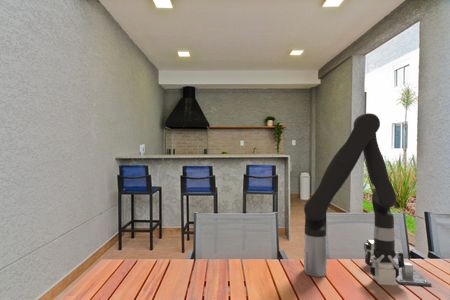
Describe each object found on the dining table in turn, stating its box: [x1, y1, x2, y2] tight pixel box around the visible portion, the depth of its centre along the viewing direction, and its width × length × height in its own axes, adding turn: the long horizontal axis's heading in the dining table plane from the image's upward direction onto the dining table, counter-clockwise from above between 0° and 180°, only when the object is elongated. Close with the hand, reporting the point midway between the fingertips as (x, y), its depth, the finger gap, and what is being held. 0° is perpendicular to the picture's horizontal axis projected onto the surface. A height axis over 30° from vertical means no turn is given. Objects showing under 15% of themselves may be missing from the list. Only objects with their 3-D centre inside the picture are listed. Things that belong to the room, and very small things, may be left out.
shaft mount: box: [396, 261, 432, 287], centre depth 119 cm, size 12×13×6 cm
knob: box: [373, 262, 397, 286], centre depth 116 cm, size 6×6×8 cm
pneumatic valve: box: [363, 239, 375, 260], centre depth 133 cm, size 6×12×12 cm, turn 78°
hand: (384, 276), depth 116 cm, fingers open, 8 cm apart
